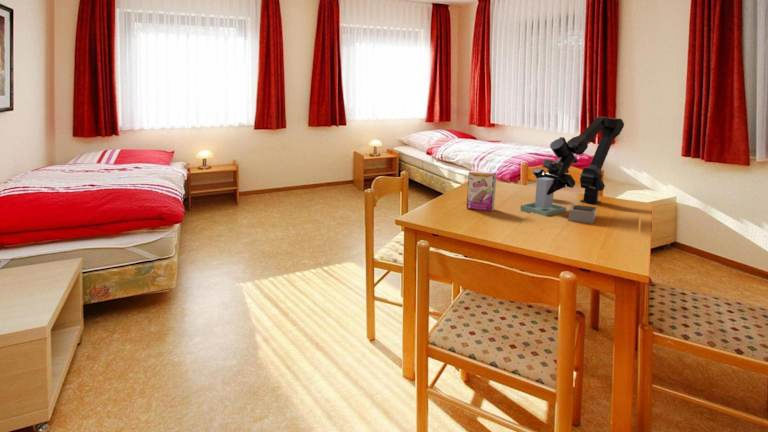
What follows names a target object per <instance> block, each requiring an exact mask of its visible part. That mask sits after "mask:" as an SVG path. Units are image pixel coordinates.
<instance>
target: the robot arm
mask: <svg viewBox="0 0 768 432" xmlns="http://www.w3.org/2000/svg"><path fill="white" fill-rule="evenodd" d="M624 127H625V123H624V121H623V119H622V118H614V117H613V118H612V117H606V116H597V117H595V118H594V120H593V122H592V123H590V124H589V125H588V126H587V127H586V128H585V129H584V130H583V131H582V132H581V133H580V134H578V135H577V136H575V137H574V136H573V137H572V138H571V139H568V140H566V138H565V137H564V136H563V137H562V136H560V137H559V138H558V139H557V138H556V139H555V140H554V141H552V142H550V145H549V147H550V149H551V151H552V153H553V154H554V155H555V157H556V158H558V159H556V160H552V159H546V158H545V159H544V161H543V164H542V165H541V167H542V168H538V167H537V168H535V169H534V170H533V171H532V174H533V175H534V176H535V178H536V179H537V178H543V177H547V178H552V179H554V183H553V184H552V186H551V187H550V189H549V190H548V192H547V195H550V194H551V193H553V192H554V193H555V192H557V191H559V190H561V189H563V188H564V189H565V188H566V187H567V188H571V189H572V188H574V187H575V185H576V181H575V179H574V177H573V175H572V174H570V173H569V172H570V170H569V169H570V167H571V166H572V165H573V164H578V157H577V156H575V155H580V156H582V155H583V154H584V153H585V152H586V151H587V149H588V147H589V143H590V142H591V141H592V140H593V139H594V138H595V137H596V136H597V135H598V134H599V133H600V132H601V137H600V140H599V142H598V145H597V148H596V150H595V152H594V154H593V157H592V160H591V161H590V162H591V163H590V164H589V166H587V167H583V169H582V172H581V174H580V177H579V181H580V182H579V183H580V188H581V189H584V192H583V193H584V194H583V199H580V202H582V203H587V204H591V205H594V204H599V203H601V202H602V201H601V200H599V195H600V192H603V191H604V189H605V187H606V185H605V184H604V181H603V180H602V179H603V172H602V168H603V166H604V163H605V161H606V158H607V157H608V154H609V151H610V149H611V146H612V143H613V142H614V139H616V138H617V137H618V136H620V134H621V132H622V131H623V128H624ZM543 168H545V169H546V171H547V172H546V171H545V170H544V169H543Z"/></svg>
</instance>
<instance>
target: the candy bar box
mask: <svg viewBox="0 0 768 432" xmlns="http://www.w3.org/2000/svg"><path fill="white" fill-rule="evenodd" d="M467 175H468V179H467V197H466V210H467V209H468V210H476V211H483V212H485V211H486V212H492V211H493V210H494V209H495V198H496V185H497V184H496V183H497V172H493V171H483V170H482V171H481V170H470V171H469V172H468V174H467Z"/></svg>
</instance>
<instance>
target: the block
mask: <svg viewBox="0 0 768 432" xmlns="http://www.w3.org/2000/svg"><path fill="white" fill-rule="evenodd" d="M553 183H554V179H552V178H547V177H543V178H536V188H535V189H536V190H535V198H534V199H535V200H534V202H535V206H537V207H540V208H550V207H552V205H553V204H554V193H555V192H553V193H551V194H550V195H547V192H548V190H549V189H550V187H551V186H552V184H553Z"/></svg>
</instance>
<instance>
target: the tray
mask: <svg viewBox="0 0 768 432" xmlns="http://www.w3.org/2000/svg"><path fill="white" fill-rule="evenodd" d="M520 211H521V212H525V213H528V214H531V213H533V214H537V215H540V216H545V217H549V216H551V215H556V214H561V213H565V212H567V206H562V205H558V204H555V203H553V205H552V207H550V208H540V207H537V206H535V201H534V202H531V203H530V202H529V203H525V204H521V205H520Z"/></svg>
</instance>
